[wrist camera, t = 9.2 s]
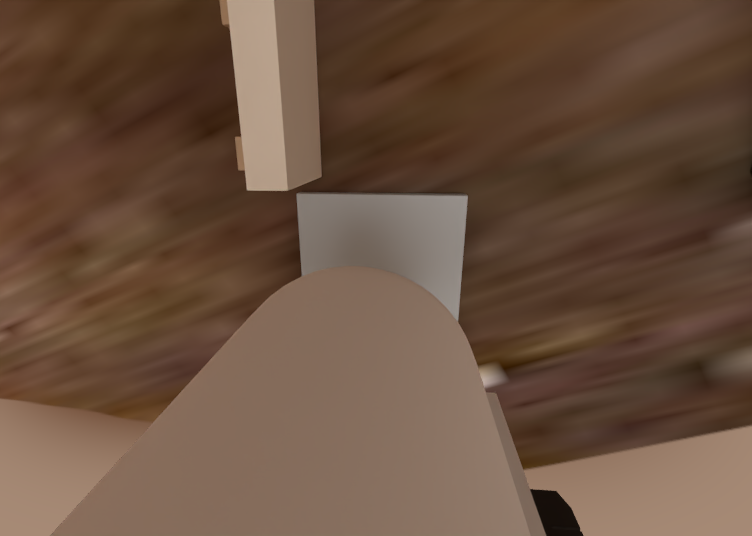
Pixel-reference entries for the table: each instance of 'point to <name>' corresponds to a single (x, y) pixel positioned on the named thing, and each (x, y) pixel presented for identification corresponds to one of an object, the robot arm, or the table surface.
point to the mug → (321, 428)
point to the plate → (387, 236)
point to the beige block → (275, 91)
